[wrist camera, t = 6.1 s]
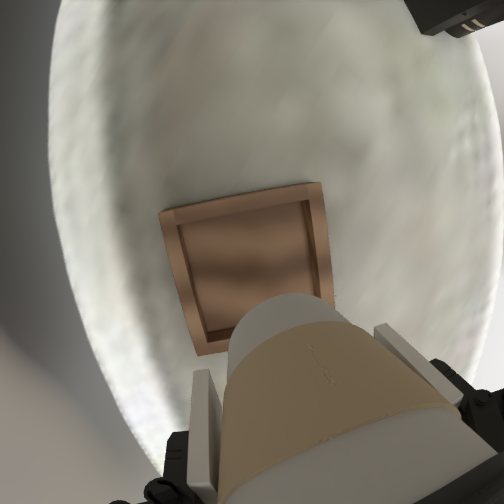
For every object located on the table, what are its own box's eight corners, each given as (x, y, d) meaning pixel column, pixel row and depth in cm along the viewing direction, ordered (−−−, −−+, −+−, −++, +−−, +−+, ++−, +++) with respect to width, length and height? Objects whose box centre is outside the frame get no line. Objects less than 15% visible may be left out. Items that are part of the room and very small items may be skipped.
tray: (164, 209, 30) (158, 213, 26) (309, 182, 31) (320, 182, 27) (198, 340, 34) (197, 356, 30) (325, 312, 35) (335, 325, 31)
